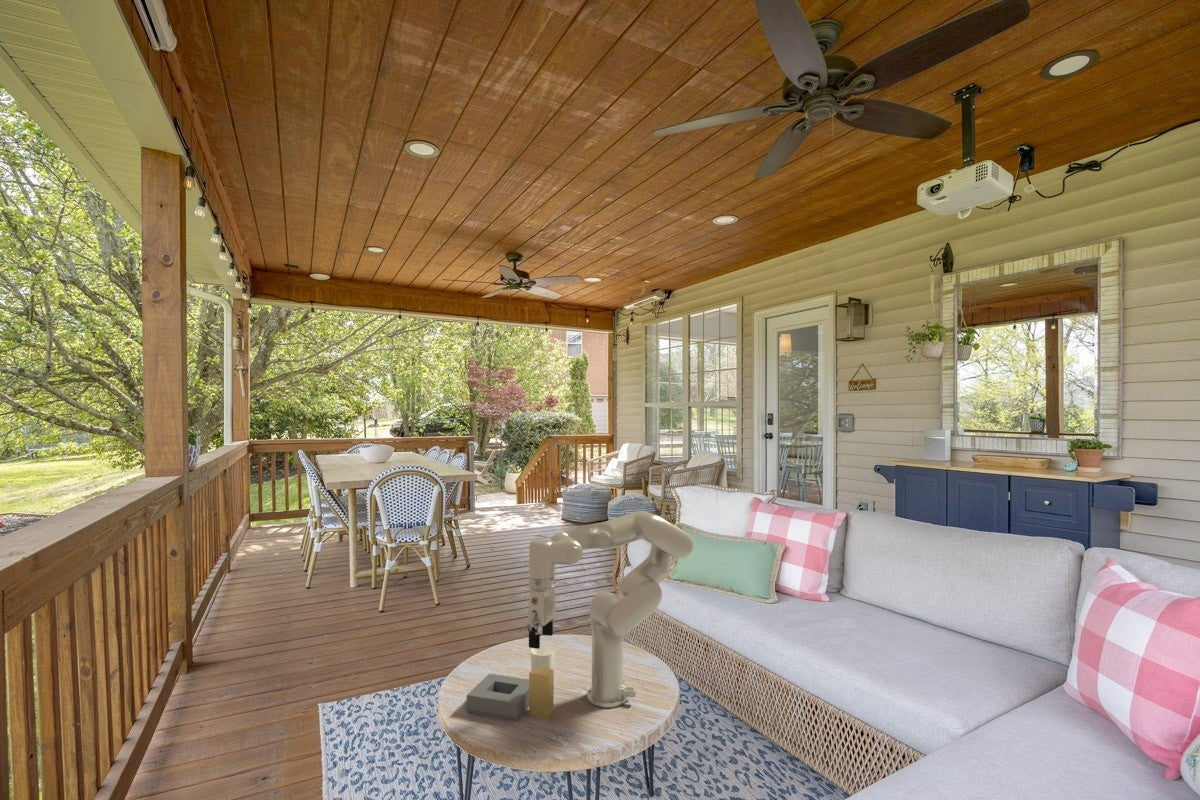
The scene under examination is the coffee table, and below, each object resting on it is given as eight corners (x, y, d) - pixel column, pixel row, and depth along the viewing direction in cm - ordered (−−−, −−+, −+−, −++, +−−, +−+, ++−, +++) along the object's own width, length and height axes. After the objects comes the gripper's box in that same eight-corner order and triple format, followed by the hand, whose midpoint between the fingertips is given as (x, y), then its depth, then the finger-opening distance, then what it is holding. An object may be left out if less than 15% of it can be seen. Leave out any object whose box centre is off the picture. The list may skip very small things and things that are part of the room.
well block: (536, 697, 169) (536, 680, 169) (516, 721, 156) (516, 703, 156) (489, 689, 174) (489, 673, 174) (466, 712, 160) (466, 694, 160)
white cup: (527, 678, 181) (527, 647, 182) (550, 674, 185) (550, 643, 185) (534, 689, 174) (534, 657, 175) (557, 684, 177) (558, 653, 178)
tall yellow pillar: (553, 711, 161) (553, 669, 162) (548, 718, 157) (548, 675, 158) (534, 708, 163) (534, 666, 163) (528, 715, 159) (529, 672, 159)
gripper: (541, 592, 152) (541, 655, 152) (564, 575, 169) (563, 632, 168) (517, 589, 155) (516, 651, 154) (541, 573, 171) (540, 629, 170)
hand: (541, 641), depth 161 cm, fingers open, 9 cm apart
